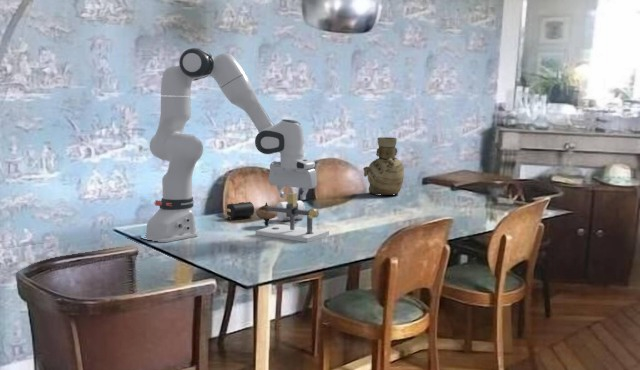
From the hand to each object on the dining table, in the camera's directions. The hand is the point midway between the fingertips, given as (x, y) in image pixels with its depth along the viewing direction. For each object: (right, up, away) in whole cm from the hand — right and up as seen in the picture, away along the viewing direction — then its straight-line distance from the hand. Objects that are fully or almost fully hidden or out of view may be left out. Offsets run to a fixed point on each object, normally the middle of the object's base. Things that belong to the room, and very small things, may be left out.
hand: (292, 198), depth 267 cm
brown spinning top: (-11, -12, +18) cm, 24 cm away
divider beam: (0, -13, +2) cm, 13 cm away
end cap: (-24, -10, +35) cm, 44 cm away
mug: (-1, -10, +30) cm, 32 cm away
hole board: (0, -14, +2) cm, 14 cm away
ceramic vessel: (+45, 0, +100) cm, 109 cm away
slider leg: (0, -12, +2) cm, 12 cm away
